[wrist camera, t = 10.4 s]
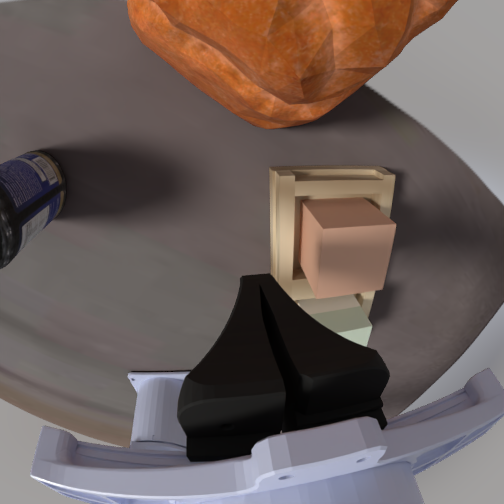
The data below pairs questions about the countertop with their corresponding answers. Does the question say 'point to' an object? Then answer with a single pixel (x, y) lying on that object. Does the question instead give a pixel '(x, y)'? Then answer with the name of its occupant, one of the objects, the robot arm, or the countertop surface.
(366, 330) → the two tone brick
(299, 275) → the socket board
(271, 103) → the bread
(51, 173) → the pill bottle
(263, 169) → the countertop surface
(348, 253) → the terracotta brick
